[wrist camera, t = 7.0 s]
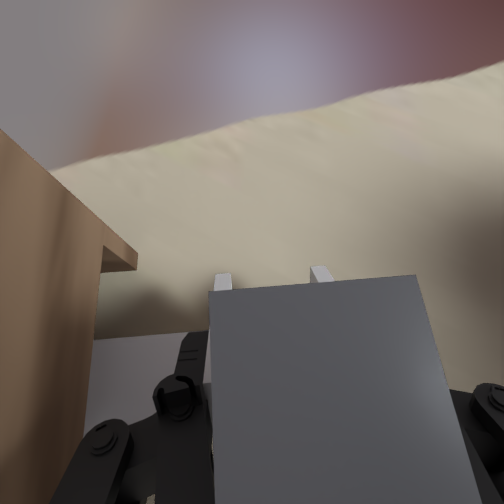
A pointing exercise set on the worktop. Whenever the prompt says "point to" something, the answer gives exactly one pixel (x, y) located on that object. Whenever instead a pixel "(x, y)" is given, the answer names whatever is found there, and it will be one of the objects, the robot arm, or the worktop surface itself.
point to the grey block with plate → (309, 395)
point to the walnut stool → (46, 321)
